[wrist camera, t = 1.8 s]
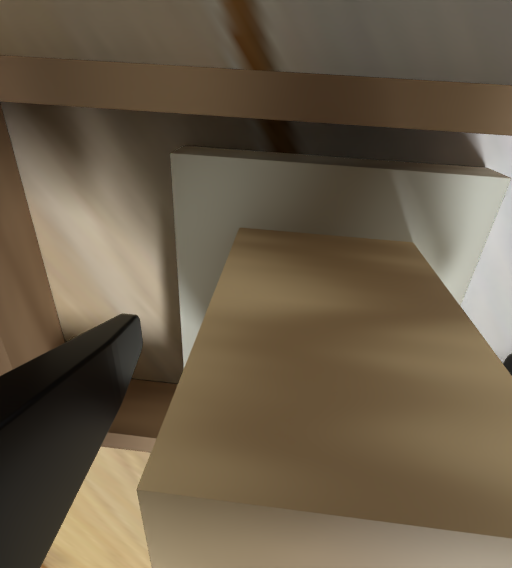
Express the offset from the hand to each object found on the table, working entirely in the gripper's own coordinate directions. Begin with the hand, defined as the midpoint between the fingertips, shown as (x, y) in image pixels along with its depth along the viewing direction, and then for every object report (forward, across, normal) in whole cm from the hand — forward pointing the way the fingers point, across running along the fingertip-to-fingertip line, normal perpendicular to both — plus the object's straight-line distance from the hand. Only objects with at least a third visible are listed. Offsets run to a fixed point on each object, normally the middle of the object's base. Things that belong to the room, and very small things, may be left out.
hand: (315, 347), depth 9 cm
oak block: (+2, 0, 0) cm, 2 cm away
